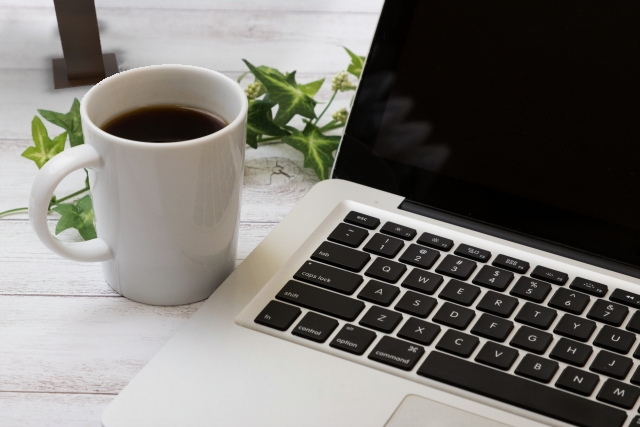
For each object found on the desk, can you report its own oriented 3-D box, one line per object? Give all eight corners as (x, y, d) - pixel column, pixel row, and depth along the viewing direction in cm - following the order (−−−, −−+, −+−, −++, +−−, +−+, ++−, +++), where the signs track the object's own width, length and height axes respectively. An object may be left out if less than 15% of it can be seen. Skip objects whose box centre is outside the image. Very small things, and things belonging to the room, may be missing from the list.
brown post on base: (52, 53, 90) (20, -108, 79) (112, 47, 92) (90, -111, 81) (57, 113, 80) (21, -62, 69) (125, 105, 82) (102, -67, 70)
